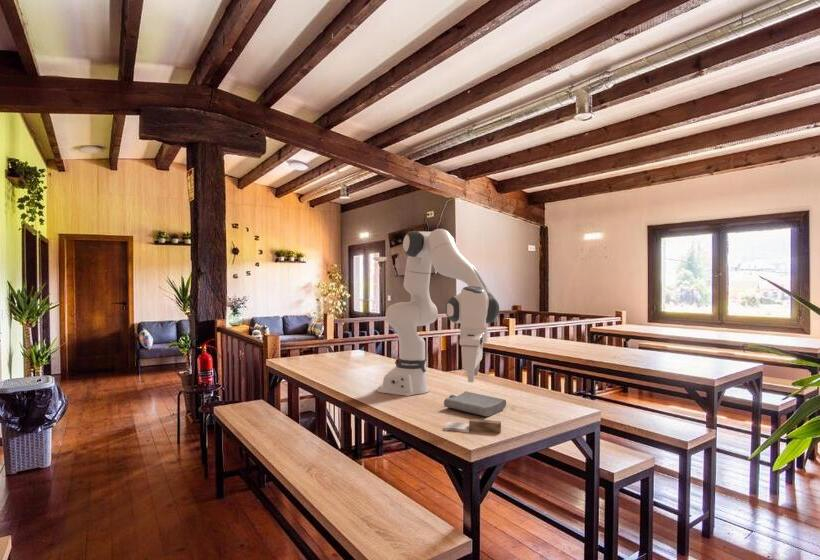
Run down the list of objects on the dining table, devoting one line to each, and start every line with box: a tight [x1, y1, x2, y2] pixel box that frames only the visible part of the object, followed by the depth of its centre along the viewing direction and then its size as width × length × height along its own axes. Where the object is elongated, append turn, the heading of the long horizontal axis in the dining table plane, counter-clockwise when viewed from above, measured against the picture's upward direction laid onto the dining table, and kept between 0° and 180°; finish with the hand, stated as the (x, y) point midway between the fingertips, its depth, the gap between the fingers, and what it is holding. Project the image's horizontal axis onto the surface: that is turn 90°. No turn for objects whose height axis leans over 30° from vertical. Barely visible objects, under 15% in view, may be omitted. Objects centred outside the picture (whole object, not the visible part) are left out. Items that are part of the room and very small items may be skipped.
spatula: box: [443, 418, 502, 434], centre depth 151 cm, size 18×6×3 cm, turn 74°
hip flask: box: [443, 390, 507, 417], centre depth 174 cm, size 16×4×20 cm
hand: (473, 378), depth 150 cm, fingers open, 8 cm apart
